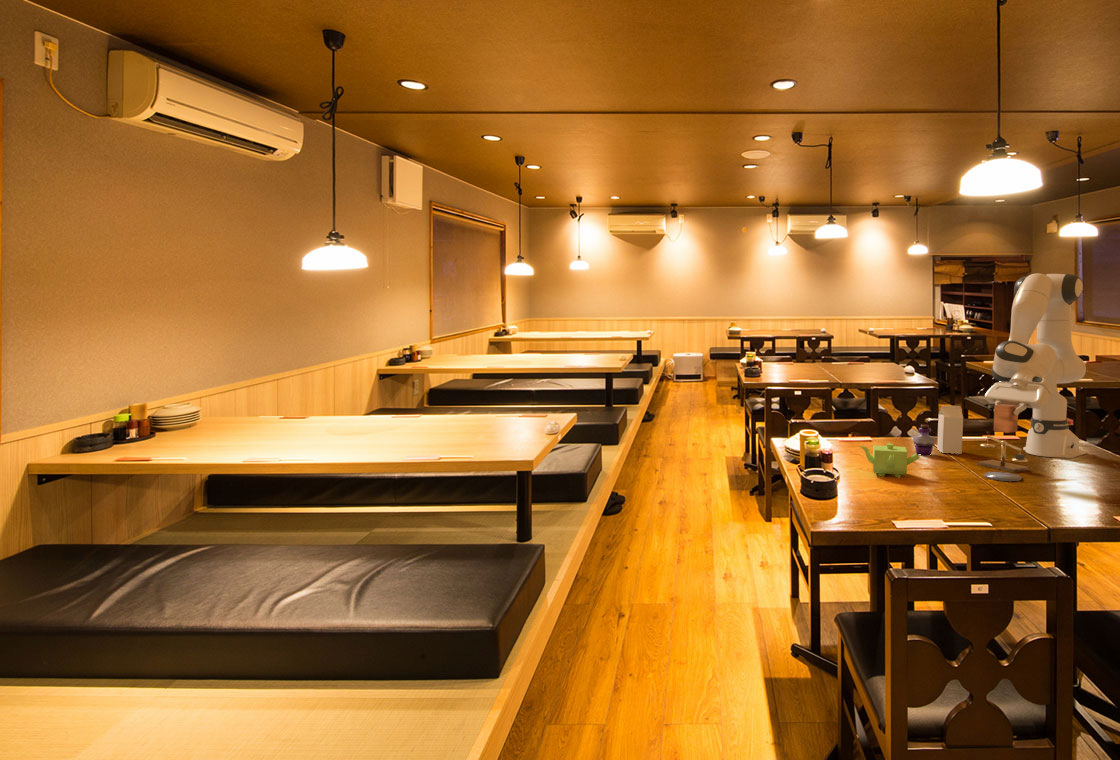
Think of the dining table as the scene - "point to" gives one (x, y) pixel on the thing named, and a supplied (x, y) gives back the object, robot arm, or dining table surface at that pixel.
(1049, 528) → the dining table surface
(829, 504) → the dining table surface
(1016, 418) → the terracotta block
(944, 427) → the milk carton
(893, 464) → the kettle
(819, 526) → the dining table surface
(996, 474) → the gray dish
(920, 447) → the potion bottle
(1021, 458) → the brass balance
